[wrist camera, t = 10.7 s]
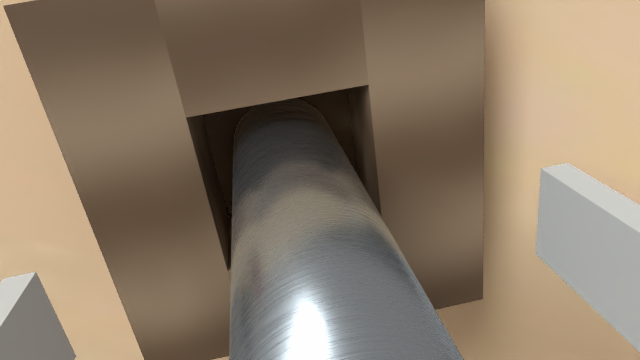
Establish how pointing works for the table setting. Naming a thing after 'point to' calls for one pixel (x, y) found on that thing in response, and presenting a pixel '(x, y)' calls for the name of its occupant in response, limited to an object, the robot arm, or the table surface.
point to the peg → (317, 252)
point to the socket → (247, 90)
